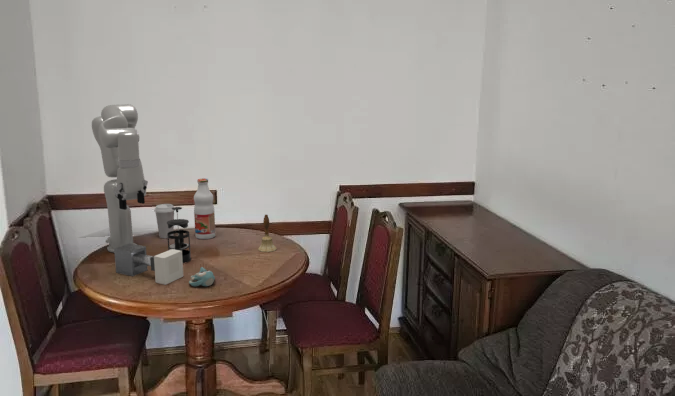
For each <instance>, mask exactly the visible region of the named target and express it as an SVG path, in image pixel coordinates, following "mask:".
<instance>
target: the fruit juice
mask: <svg viewBox="0 0 675 396" xmlns="http://www.w3.org/2000/svg"><path fill="white" fill-rule="evenodd" d="M208 183H209V178H204V177H203V178H198V179H197V184H198V185H197V190H196V192H195V193H194V195H193V200H194V206H193V215H194V219H193V220H194V235H195V238H196V239H198V240H211V239H213V238H215V237H216V221H215V219H216V218H215V206H214V204H213V203H214V194H213V193H212V192H211V191H210V188H209V185H208Z"/></svg>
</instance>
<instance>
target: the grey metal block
mask: <svg viewBox="0 0 675 396" xmlns="http://www.w3.org/2000/svg"><path fill="white" fill-rule="evenodd" d="M135 244H136V243H135ZM135 244H130V243H129V244H126V245H123V246H121V247H118V248H115V249H114V262H115V264H114V265H115V273H116V274H118V275H119V274H121V275H125V276H128V277H129V276H130V277H135V276H137V275H140V274H142V273H145V272H147V271H148V269H149V268H148V267H149V266H146V265H141V264H136V263H134V257H133V254H135V253H138V254H143V255H148V254H147V246H145V245H139V244H137V245H135Z"/></svg>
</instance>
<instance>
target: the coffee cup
mask: <svg viewBox="0 0 675 396" xmlns="http://www.w3.org/2000/svg"><path fill="white" fill-rule="evenodd" d="M174 207H175V206H174V204H171V203H163V204H157V205H156V206H155V208H154V212H155V217H156V223H157V228H158V236H159V238H161V239H168V237H167V233H168V232H171V231H175V226H172V227H171V228H168V224H167V221H170V220H174V219H175V212H176V210H173V209H172V208H174ZM171 236H174V234H171Z"/></svg>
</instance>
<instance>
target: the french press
mask: <svg viewBox="0 0 675 396" xmlns="http://www.w3.org/2000/svg"><path fill="white" fill-rule="evenodd" d="M172 209H173V210H175V213H176V219H175V218H174V220H170V221H167V224H168V228H171V227H172V226H174V227H176V226H177V230H175V229H174V231H171V232H168V233H167V237H168V238H167V249H168V250H171V249H175V250H180V251H182V260H183V264H186V263H185V262H187V263H189V262H191V261H192V257H191V240H190V237H191V235H190V231H188V230H186V229H187V228H188V227H189V223H190V221H189V219H184V218H179V211H181V210H182V209H183V207H181V206H174V208H172ZM180 227H181V228H182V229H179V228H180ZM184 229H185V230H184ZM171 234H173V236H171ZM175 234H177V235H175ZM186 238H188V243H186V242H185V239H186ZM170 239H171V240H174V243H172V244H170ZM168 250H167V251H168Z"/></svg>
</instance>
